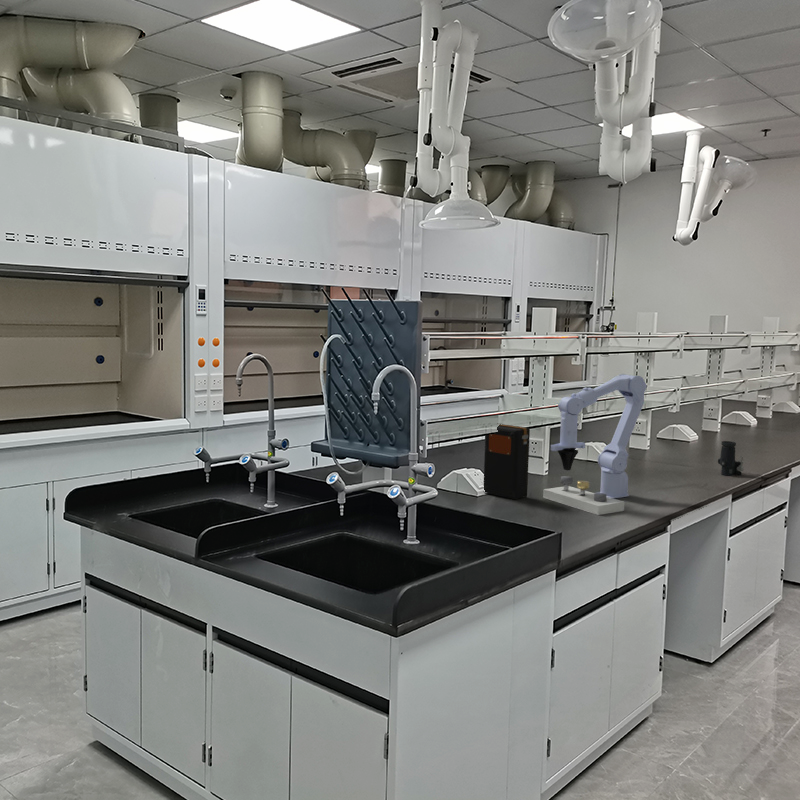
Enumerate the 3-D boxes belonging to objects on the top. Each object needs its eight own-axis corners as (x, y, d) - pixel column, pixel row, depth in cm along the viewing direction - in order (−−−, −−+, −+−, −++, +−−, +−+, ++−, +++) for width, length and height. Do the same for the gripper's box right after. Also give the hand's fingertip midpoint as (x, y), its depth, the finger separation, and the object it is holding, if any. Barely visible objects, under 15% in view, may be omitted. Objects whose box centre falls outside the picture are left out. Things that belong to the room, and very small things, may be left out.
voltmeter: (529, 497, 260) (532, 427, 257) (515, 501, 253) (518, 429, 251) (494, 489, 270) (496, 422, 268) (479, 493, 264) (482, 424, 262)
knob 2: (599, 506, 248) (600, 492, 247) (608, 509, 244) (609, 495, 244) (591, 508, 245) (591, 493, 245) (599, 510, 242) (600, 496, 242)
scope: (746, 442, 305) (733, 444, 299) (743, 475, 306) (731, 477, 300) (727, 439, 311) (714, 441, 305) (724, 471, 313) (712, 474, 306)
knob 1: (566, 489, 261) (566, 475, 260) (574, 491, 257) (574, 477, 257) (557, 490, 259) (558, 476, 258) (565, 492, 255) (566, 479, 255)
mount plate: (568, 494, 266) (568, 485, 265) (623, 510, 244) (624, 501, 243) (543, 497, 260) (543, 489, 259) (598, 515, 237) (598, 505, 237)
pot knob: (582, 494, 254) (583, 480, 253) (591, 496, 251) (591, 482, 250) (574, 495, 252) (574, 481, 251) (582, 497, 249) (583, 483, 248)
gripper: (561, 434, 249) (559, 473, 250) (592, 431, 256) (590, 470, 258) (547, 431, 255) (545, 469, 256) (577, 428, 262) (575, 466, 264)
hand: (567, 469), depth 257 cm, fingers closed
